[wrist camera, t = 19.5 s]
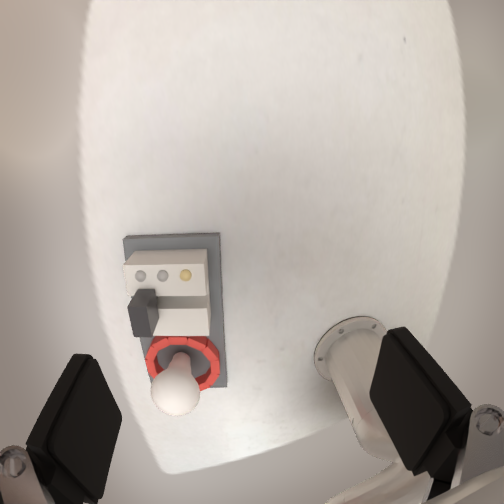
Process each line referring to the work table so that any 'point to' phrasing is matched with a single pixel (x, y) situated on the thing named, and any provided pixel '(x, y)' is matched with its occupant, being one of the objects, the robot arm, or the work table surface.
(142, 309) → the block
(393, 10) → the work table surface
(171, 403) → the lightbulb
